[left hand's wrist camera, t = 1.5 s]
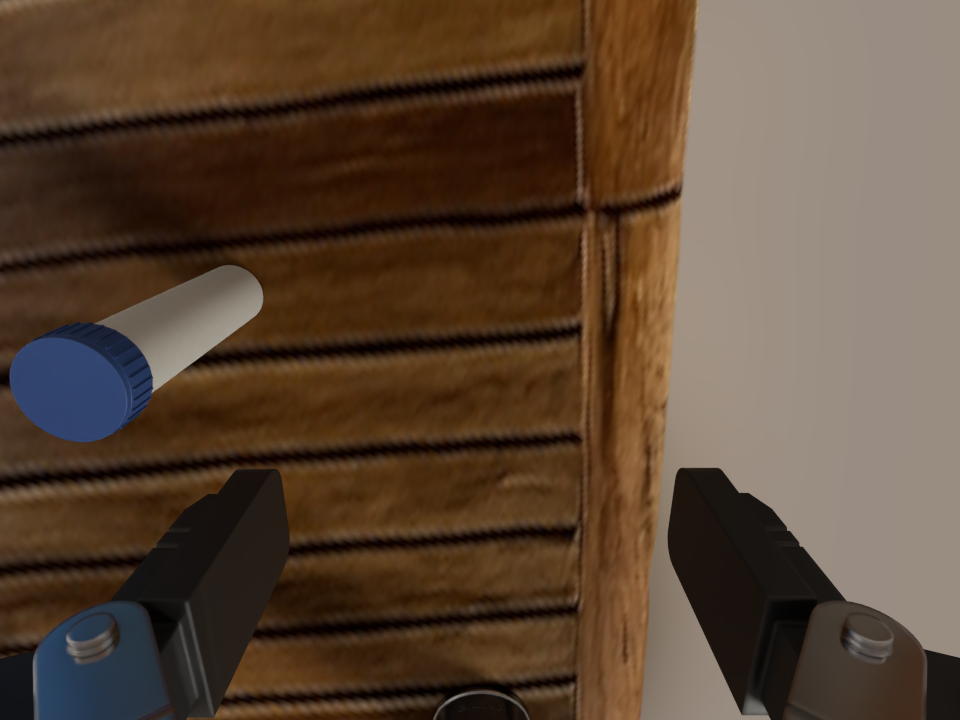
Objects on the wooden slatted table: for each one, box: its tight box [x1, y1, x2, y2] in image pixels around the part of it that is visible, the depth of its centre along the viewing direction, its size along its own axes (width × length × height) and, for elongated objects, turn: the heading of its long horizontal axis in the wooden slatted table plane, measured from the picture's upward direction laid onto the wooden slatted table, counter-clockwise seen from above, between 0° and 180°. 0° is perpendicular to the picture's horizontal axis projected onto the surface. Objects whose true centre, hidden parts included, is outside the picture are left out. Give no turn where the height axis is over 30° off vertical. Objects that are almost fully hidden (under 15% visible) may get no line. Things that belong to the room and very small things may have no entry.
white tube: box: [95, 265, 263, 392], centre depth 32 cm, size 4×4×17 cm
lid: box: [10, 322, 153, 442], centre depth 25 cm, size 5×5×2 cm
